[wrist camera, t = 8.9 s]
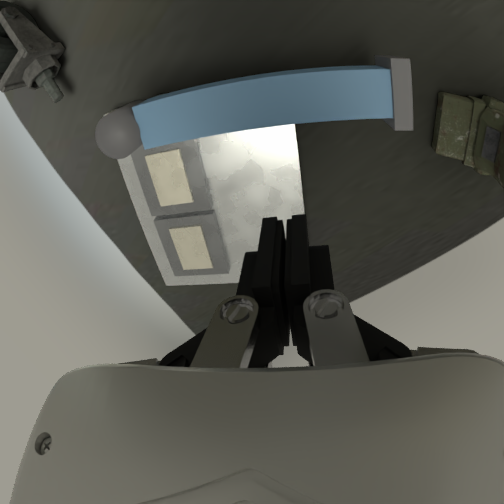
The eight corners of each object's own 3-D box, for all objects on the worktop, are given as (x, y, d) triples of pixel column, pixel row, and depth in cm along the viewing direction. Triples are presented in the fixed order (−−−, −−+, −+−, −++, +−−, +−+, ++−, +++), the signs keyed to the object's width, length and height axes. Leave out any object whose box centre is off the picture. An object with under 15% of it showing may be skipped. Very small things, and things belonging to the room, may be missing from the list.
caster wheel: (6, 26, 20) (58, 113, 25) (-59, 36, 12) (-13, 141, 17) (33, -11, 17) (90, 76, 23) (-35, -11, 9) (15, 92, 15)
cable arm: (130, 150, 23) (106, 171, 20) (114, 99, 20) (86, 112, 17) (394, 115, 19) (414, 131, 16) (390, 55, 17) (411, 59, 13)
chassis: (113, 107, 25) (87, 121, 22) (287, 70, 23) (287, 75, 19) (171, 274, 37) (159, 301, 34) (308, 266, 34) (310, 296, 31)
